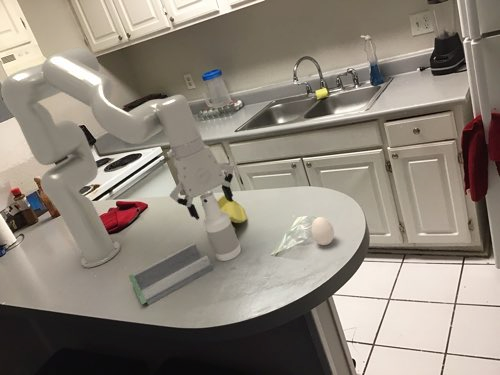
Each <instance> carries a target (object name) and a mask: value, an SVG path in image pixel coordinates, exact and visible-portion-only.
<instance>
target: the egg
mask: <svg viewBox="0 0 500 375" xmlns="http://www.w3.org/2000/svg"><path fill="white" fill-rule="evenodd" d="M310 229H311V236H312V238H313V240H314V241H315V242H316V243H317V244H319V245H321V246H328V245H329V244H330V243H332V241H333V240H334V237H335V230H334V228H333V224H332V223H331V222H330V221H329V220H328V219H327V218H325V217H323V216H318V217H316V218H314V220H313V222H312V224H311V228H310Z"/></svg>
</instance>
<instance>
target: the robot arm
mask: <svg viewBox="0 0 500 375" xmlns="http://www.w3.org/2000/svg"><path fill="white" fill-rule="evenodd" d="M113 90H114V89H113V81H112V80H111V79H110V77H109V76H107V75H105V74H103V73H102V72H100V64H99V61H98V59H97V57H96V55H95V54H94V53H92V51H90V50H88V49H86V48H84V47H75V48H71V49H67V50H65V51H64V50H63V51H61V52H57V53H53V55H50V56H49V57H48V58H46V59H45V60H44V62H43V63H40V64H37V65H34V66H29V67H27V68H25V69H20V70H19V71H16V72H14V73H12V74H10V75H8V76H7V77H6V78H4V80H3V82H2V84H1V87H0V92H1V98H2V100H3V102H4V104H5V106H6V107H7V109H8V110H9V112H10V114H12V115H13V117H14V118H15V120H16V121H17V124H18V125H19V127H20V130H21V133H22V134H23V137H24V139H25V141H26V142H27V145H28V148H29V150H30V151H31V154H32V155H33V157H34V159H35V161H36V162H38V164H41V165H43V166H49V165H54V164H55V163H57V162H59V161H61V160H63V159H65V158H66V157H67V159H65V160H64V161H62V162H60V163H58V164H56V165H55V166H53V167H51V168H50V169H48V170H46V172H45V173H44V174H43V175H42V177H41V179H40V187H41V189H42V191H43V193H44V194H45V195H46V196H47V198H48V199H49V200H50V202H51V203H53V205H54V207H55V208H56V210H57V212H58V213H59V215H60V216H61V219H62V220H63V222H64V223H65V225H66V227H67V228H68V230H69V233H70V234H71V236H72V238H73V240H74V242H75V243H76V245H77V247H78V248H79V250H80V253H81V255H82V258H81V260H80V264H81V266H82V267H83V268H96V267H99V266H101V265H102V264H104V263H106V262H108V261H110V260H111V259H113V258H114V257H115V256H117V255H118V253H119V252H120V251H121V245H120V243H119V242H118V241H112V238H111V236H110V235H109V232H108V231H107V229H106V227H105V225H104V223H103V220H102V219H101V217H100V215H99V213H98V211H97V209H96V207H95V205H94V204H93V203H94V202H92V200H91V199H90V198H88V197H87V196H86V195H84V194H83V193H80V190H83V188H84V187H86V186H87V185H89V184H90V183H91V182H93V181H94V180H95V179H96V178H97V176H98V172H99V169H98V164H97V162H96V159H95V156H94V155H93V154H94V153H93V151H92V149H91V146H90V143H89V142H88V139H87V137H86V135H85V132H84V131H83V129H82V128H81V127H80V126H79V125H78V124H77V123H75V122H74V121H71V120H61V121H59V122H56V123H55V122H54V119H53V117H52V115H51V113H50V111H49V110H48V109H47V108H46V107H45V106H44V105H42V104H41V103H40V101H43V100H45V99H48V98H51V97H53V96H56V95H58V94H61V93H64V94H66V95H68V96H70V97H71V98H73V99H75V100H77V101H79V102H80V103H82V104H84V105H86V106H88V107H90V109H91V112H92V115H93V117H94V119H95V120H96V122H97V123H98V124H99V125H100V127H101V128H102V129H103V130H104V131H105V132H107V133H109V134H110V135H112V136H113V137H116V138H118V139H119V140H121V141H123V142H125V143H129V144H132V145H139V144H143V143H145V142H146V141H148V140H149V139H151V138H152V137H154V136H155V135H157V134H158V133H161V131H163V132H164V134H165V136H166V138H167V141H168V144H169V145H170V150H169V151H167V152H166V154H167V157H168V158H170V157H174V158H173V163H174V168H175V171H176V175H177V178H178V181H179V182H178V184H177V185H176V186H175V187H174V188H173V190H172V191H171V193H170V194H169V197H170V198H171V199H172V200H174V201H175V202H176V203H177V204H178V205H183V206H185V207H186V209H187V210H188V212H189V216H190V217H191V218H195V219H196V220H200V216H199V213H198V211H197V208H196V207H195V204H193V200H194V198H198V197H200V196H201V195H202V194H204V193H207V192H208V193H209V192H210V191H211V190H213V189H215V188H217V187H219V186H221V189H222V192H223V194H224V195H225V197H226V199H227V200H228V201H230V202H232V201H233V200H234V199H233V197H234V194H233V192H232V189H231V183H232V180H233V177H234V175H233V174H234V165H232V164H221V163H220V164H219V162H218V160H217V158H216V156H215V155H214V152H213V151H212V148H211V147H210V146H209V145H206V144H205V143H204V141H203V138H202V136H201V133H200V130H199V128H198V125H197V123H196V120H195V117H194V114H193V112H192V110H191V108H190V104H189V102H188V99H187V98H186V96H184V95H183V94H176V95H172V96H171V95H170V96H169V97H165V98H162V99H161V98H157V99H151V100H147V101H146V102H144V103H142V104H141V105H139V106H137V107H135V108H133V109H131V110H129V111H125V110H123V109H122V108H119V107H118V106H116V105H115V104H113V103H111V102H110V100H111V97H112V93H113ZM223 171H226V174H225V175H224V173H223ZM181 191H183V193H184V194H185V195H184V198H181V197H180V196H179V194H180V193H181ZM224 195H223V196H224Z"/></svg>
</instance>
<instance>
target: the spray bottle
mask: <svg viewBox="0 0 500 375" xmlns="http://www.w3.org/2000/svg"><path fill="white" fill-rule="evenodd" d="M199 198H200V202H201V206H202V207H203V208H202V209H203V211H204V214H205V215H206V218H205V217H204V219H203V221H202V224H203V227H204V229H205V233H206V234H207V237H208V240H209V241H210V244H211V246H212V250H213V251H214V254H215V257H216V259H217V260H219V261H220V262H221V261H222V262H225V261H226V262H227V261H230V260H233V259H234V258H236V257H237V256H239V255H240V254H241V251H242V247H241V246H240V242H239V240H238V236H237V234H236V230H235V231H234V229H233V227H234V225H233V224H232V223H233V222H232V221H230V218H229V215H228V213H226V212H224V211H221V210H220V207H219V205H218V203H217V201H218V200H217V199H216V197H215V195H214V192H213V191H210V192H208V193H207V192H206V193H204V194H202V195H199ZM205 215H204V216H205Z"/></svg>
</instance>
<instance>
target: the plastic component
mask: <svg viewBox="0 0 500 375" xmlns="http://www.w3.org/2000/svg"><path fill="white" fill-rule="evenodd" d="M217 203H218V205H219V207H220V210H221V211H224V212H226V213H228V215H229V218H230V221H231V222H232V223H235V224H237V223H238V224H241V223H244V222H245V221H246V220H247V214H246V210H245V209H244V207H243V206H242V205H241V204H240V203H239V202H237V201H236V200H235V199H233V201H232V202H230V201H228V200H227V199H226V197H225V195H222V196H221V197H220V198H219V199H218V200H217ZM205 218H206V215H204V219H205ZM233 229H234V231H235V232H236V228H235V226H233Z"/></svg>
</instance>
